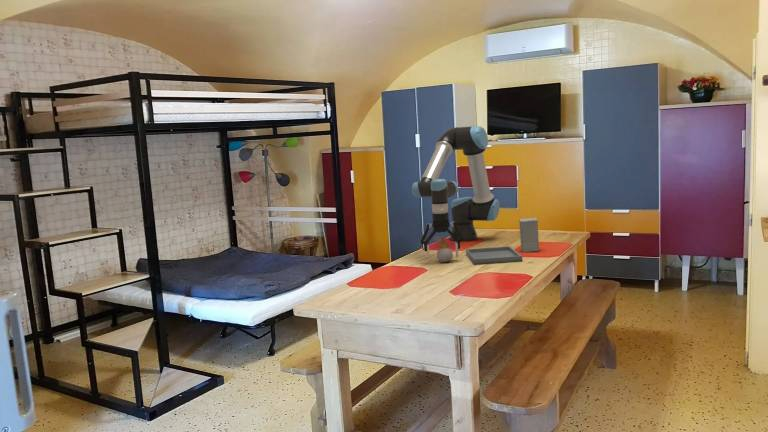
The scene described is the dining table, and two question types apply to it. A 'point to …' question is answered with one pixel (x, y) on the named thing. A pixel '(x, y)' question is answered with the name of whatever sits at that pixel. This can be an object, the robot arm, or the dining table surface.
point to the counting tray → (493, 255)
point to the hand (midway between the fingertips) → (442, 257)
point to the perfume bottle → (443, 250)
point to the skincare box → (529, 234)
